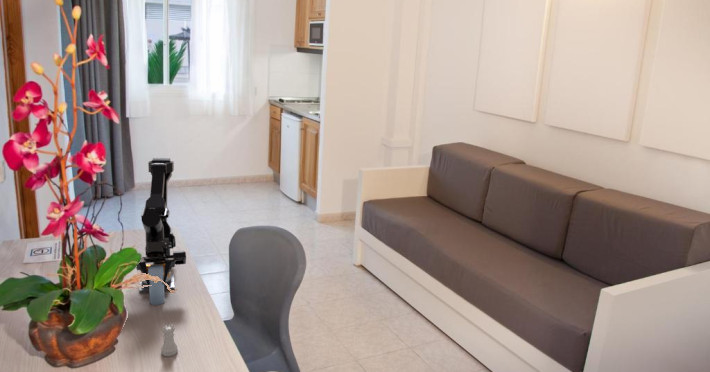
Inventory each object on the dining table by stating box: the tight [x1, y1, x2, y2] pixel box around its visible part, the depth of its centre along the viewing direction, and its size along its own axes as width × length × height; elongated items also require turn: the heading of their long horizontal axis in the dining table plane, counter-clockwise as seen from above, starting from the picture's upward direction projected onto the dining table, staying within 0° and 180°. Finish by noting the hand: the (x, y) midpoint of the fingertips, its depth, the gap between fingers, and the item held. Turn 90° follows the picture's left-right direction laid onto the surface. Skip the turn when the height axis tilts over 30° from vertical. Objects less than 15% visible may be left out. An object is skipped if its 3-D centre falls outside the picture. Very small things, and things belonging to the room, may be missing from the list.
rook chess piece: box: [160, 324, 179, 358], centre depth 157 cm, size 4×4×8 cm
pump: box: [148, 264, 166, 306], centre depth 181 cm, size 6×4×12 cm
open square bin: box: [138, 263, 175, 294], centre depth 194 cm, size 11×11×6 cm
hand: (156, 285), depth 181 cm, fingers closed on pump, 4 cm apart
